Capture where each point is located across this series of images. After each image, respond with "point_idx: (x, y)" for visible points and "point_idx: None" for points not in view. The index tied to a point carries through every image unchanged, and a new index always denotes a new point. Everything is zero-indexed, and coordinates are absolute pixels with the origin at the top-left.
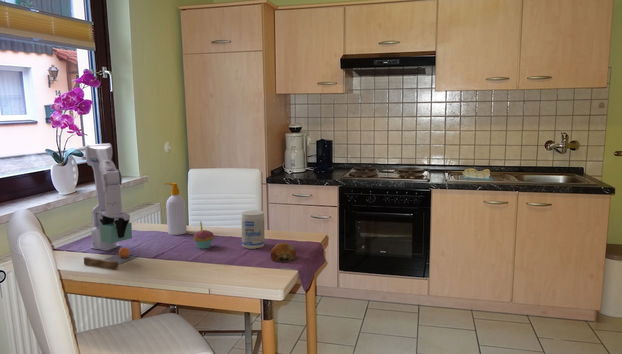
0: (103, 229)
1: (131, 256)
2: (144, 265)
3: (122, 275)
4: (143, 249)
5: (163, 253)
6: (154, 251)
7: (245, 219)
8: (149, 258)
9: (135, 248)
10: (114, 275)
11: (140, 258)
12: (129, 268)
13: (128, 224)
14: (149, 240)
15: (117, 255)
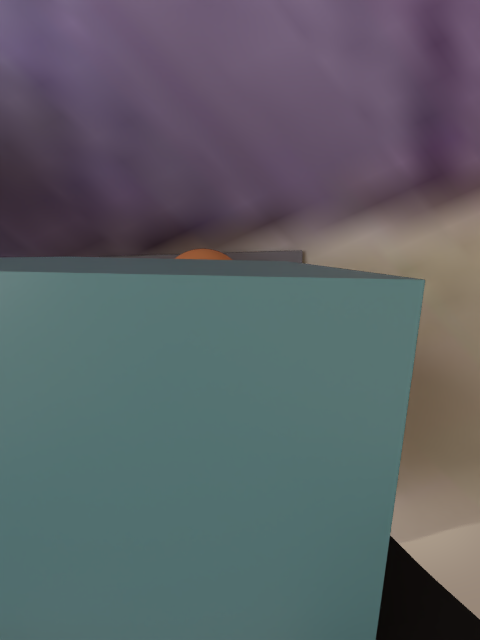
0: None
1: (250, 256)
2: (474, 358)
3: (453, 524)
4: (175, 22)
5: (446, 47)
6: (323, 30)
7: None
8: (411, 222)
9: (75, 30)
10: (410, 539)
11: (342, 252)
12: (414, 435)
13: (372, 441)
14: None
15: None
